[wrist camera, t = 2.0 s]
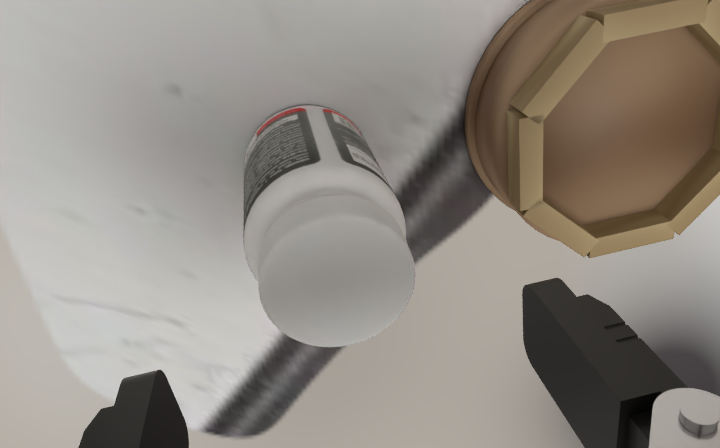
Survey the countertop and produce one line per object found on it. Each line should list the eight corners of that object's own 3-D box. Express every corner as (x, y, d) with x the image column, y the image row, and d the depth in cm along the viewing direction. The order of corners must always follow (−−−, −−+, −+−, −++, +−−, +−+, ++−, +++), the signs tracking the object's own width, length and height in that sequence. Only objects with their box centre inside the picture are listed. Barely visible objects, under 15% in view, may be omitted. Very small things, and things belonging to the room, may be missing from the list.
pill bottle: (244, 218, 22) (241, 366, 15) (243, 99, 20) (239, 203, 12) (363, 218, 23) (415, 357, 16) (374, 105, 21) (442, 204, 13)
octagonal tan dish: (456, 0, 19) (501, 17, 16) (713, -50, 20) (810, -44, 17) (471, 235, 24) (508, 288, 21) (679, 188, 25) (748, 231, 21)
